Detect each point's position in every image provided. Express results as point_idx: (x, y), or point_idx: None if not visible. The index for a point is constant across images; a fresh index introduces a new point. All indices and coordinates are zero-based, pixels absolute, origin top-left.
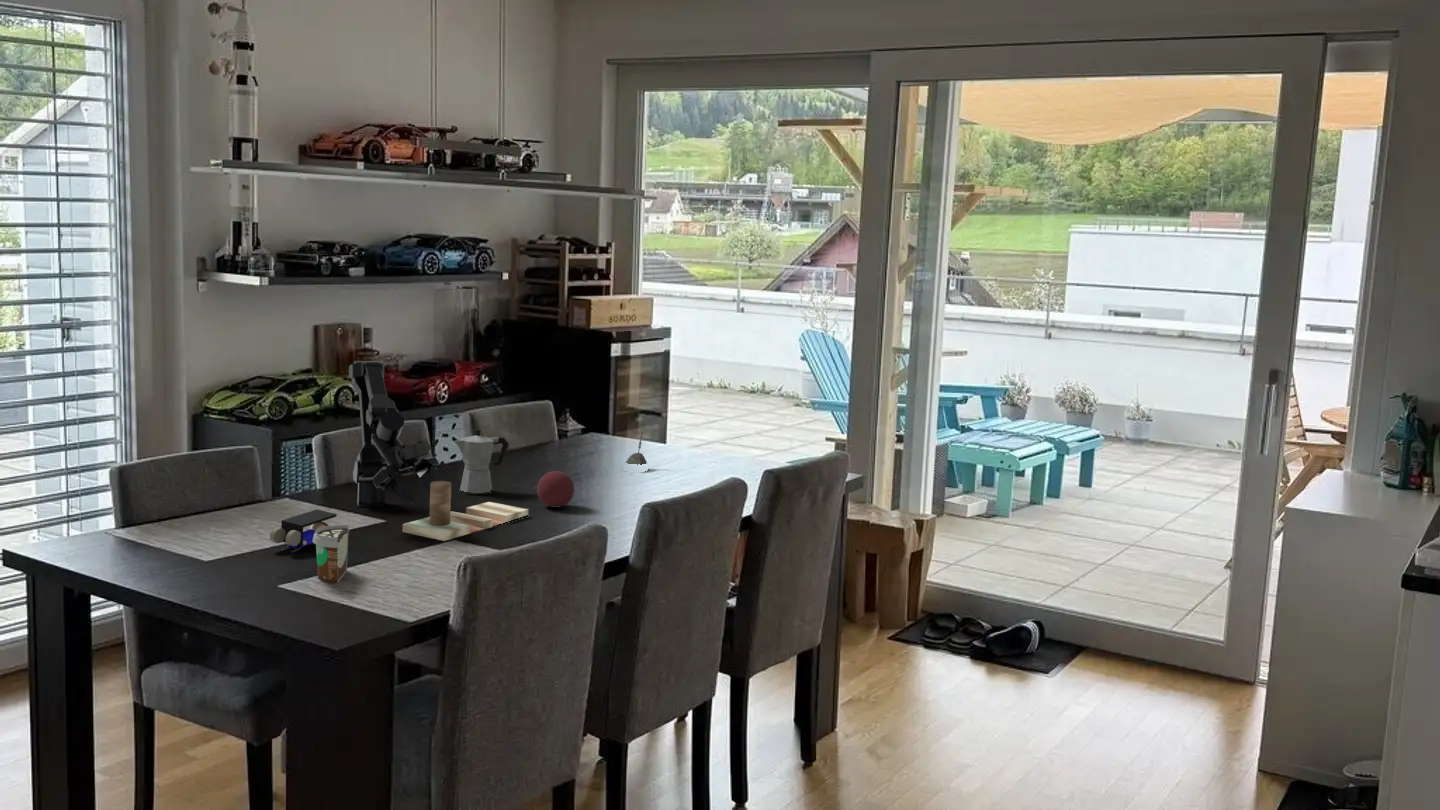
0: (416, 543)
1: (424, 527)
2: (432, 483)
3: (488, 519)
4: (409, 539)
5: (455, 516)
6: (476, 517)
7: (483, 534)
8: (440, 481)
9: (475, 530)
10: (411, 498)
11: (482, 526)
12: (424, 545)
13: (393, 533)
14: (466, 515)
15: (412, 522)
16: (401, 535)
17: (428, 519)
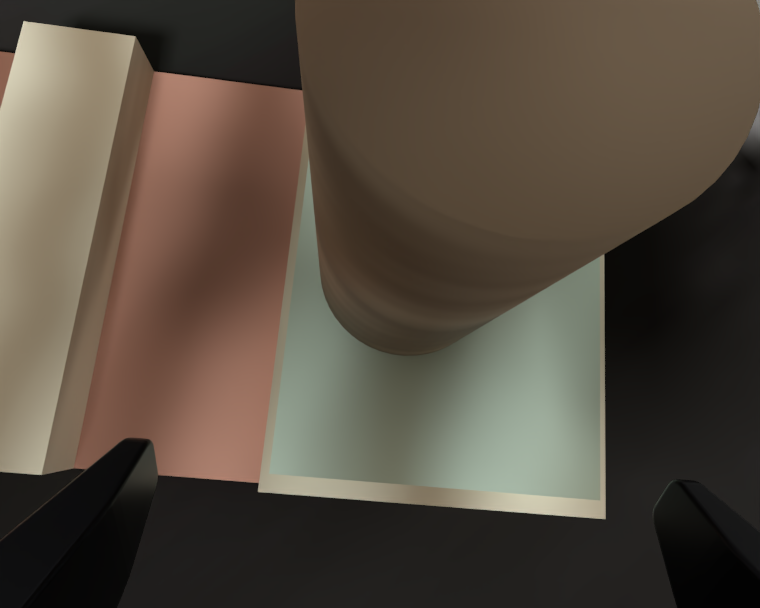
0: (732, 235)
1: (599, 282)
2: (693, 137)
3: (46, 42)
4: (691, 332)
5: (77, 325)
6: (29, 151)
7: (278, 19)
8: (386, 112)
9: (244, 86)
10: (715, 505)
11: (147, 75)
12: (732, 169)
13: (644, 536)
14: (5, 255)
15: (536, 466)
16: (648, 447)
17: (358, 422)
